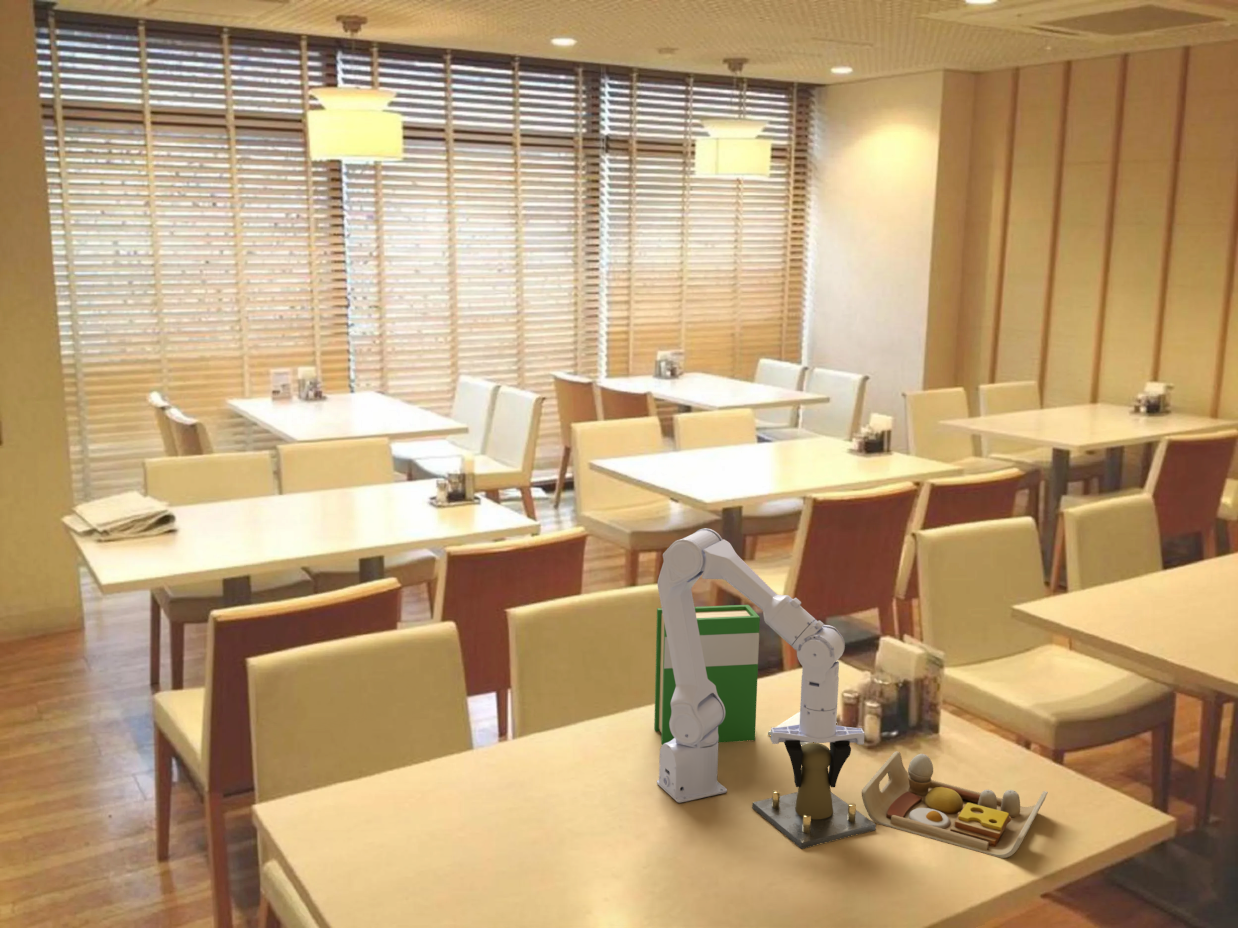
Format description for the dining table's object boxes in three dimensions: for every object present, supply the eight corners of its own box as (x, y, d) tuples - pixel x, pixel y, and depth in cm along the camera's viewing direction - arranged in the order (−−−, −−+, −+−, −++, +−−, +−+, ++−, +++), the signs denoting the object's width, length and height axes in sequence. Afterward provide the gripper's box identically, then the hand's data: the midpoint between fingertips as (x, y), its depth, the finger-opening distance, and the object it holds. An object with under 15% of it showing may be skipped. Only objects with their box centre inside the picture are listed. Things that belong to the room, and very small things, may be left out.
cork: (817, 797, 184) (818, 735, 182) (841, 813, 179) (842, 749, 177) (787, 806, 182) (788, 743, 180) (810, 822, 176) (811, 757, 174)
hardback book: (662, 745, 206) (665, 620, 201) (654, 729, 213) (656, 608, 208) (754, 740, 209) (759, 617, 204) (743, 724, 216) (748, 604, 211)
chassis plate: (801, 848, 171) (802, 827, 170) (752, 807, 183) (753, 787, 182) (875, 829, 177) (876, 809, 176) (822, 791, 189) (823, 772, 188)
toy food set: (859, 820, 180) (861, 776, 179) (894, 777, 196) (897, 736, 194) (1021, 866, 167) (1026, 819, 166) (1046, 816, 183) (1050, 772, 181)
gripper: (859, 694, 180) (854, 773, 183) (769, 693, 180) (766, 772, 182) (869, 711, 173) (864, 793, 176) (775, 711, 173) (772, 792, 176)
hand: (814, 784), depth 179 cm, fingers closed on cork, 5 cm apart
